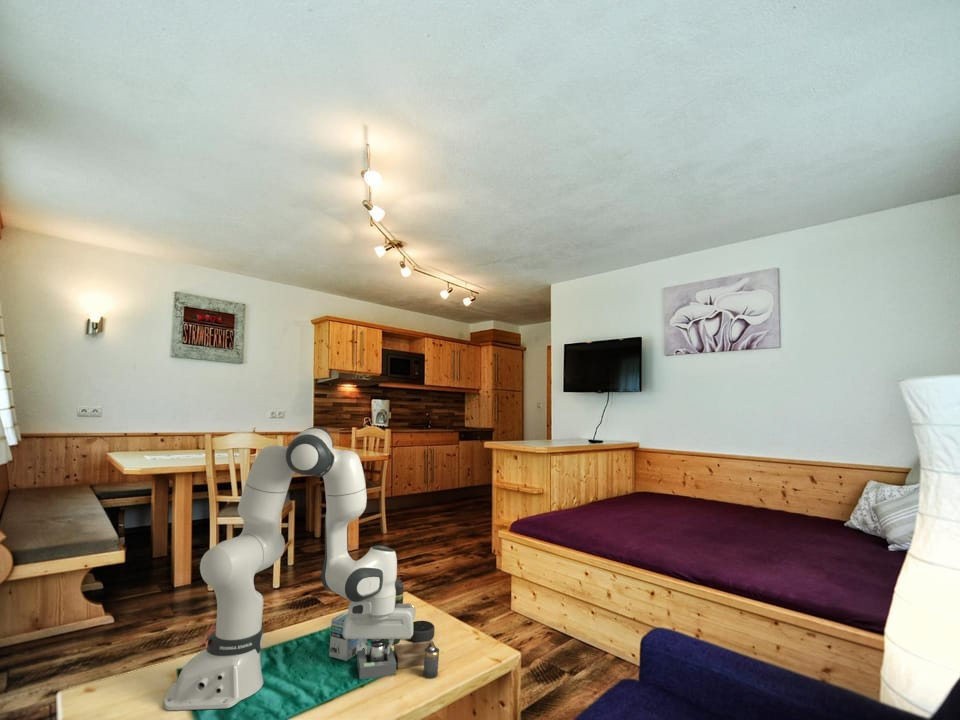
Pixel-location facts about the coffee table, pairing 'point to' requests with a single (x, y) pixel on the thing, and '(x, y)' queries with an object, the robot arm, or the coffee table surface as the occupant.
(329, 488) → the robot arm
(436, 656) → the copper cell
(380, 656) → the steel cell
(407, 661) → the trough
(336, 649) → the light bulb box
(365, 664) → the cradle
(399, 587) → the coffee jar
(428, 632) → the smart speaker
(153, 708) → the coffee table surface
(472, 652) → the coffee table surface
